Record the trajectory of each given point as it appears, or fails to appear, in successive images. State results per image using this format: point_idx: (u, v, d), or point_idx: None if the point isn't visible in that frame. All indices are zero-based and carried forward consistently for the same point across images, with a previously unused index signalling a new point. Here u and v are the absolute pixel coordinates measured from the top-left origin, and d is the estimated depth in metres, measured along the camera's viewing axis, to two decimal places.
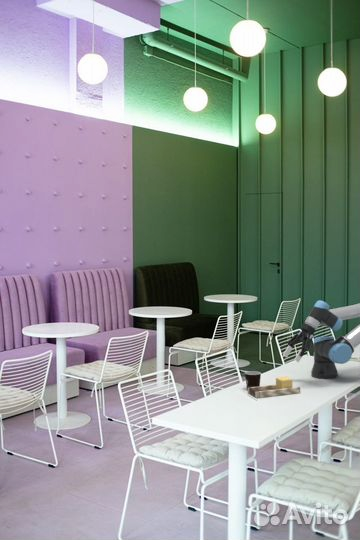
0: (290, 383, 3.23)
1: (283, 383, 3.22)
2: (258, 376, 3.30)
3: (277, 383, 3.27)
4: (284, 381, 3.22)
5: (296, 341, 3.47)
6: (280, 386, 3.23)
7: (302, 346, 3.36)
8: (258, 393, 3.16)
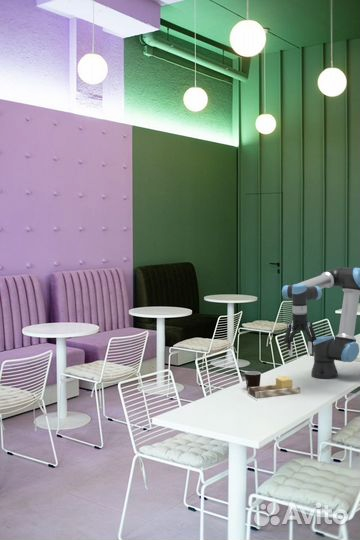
0: (290, 383, 3.23)
1: (283, 383, 3.22)
2: (258, 376, 3.30)
3: (277, 383, 3.27)
4: (284, 381, 3.22)
5: None
6: (280, 386, 3.23)
7: (310, 338, 3.28)
8: (258, 393, 3.16)
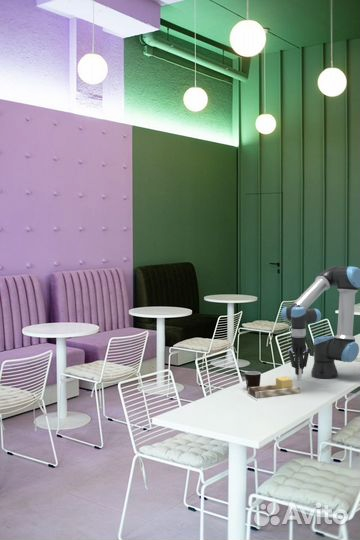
0: (290, 383, 3.23)
1: (283, 383, 3.22)
2: (258, 376, 3.30)
3: (277, 383, 3.27)
4: (284, 381, 3.22)
5: None
6: (280, 386, 3.23)
7: (302, 363, 3.27)
8: (258, 393, 3.16)
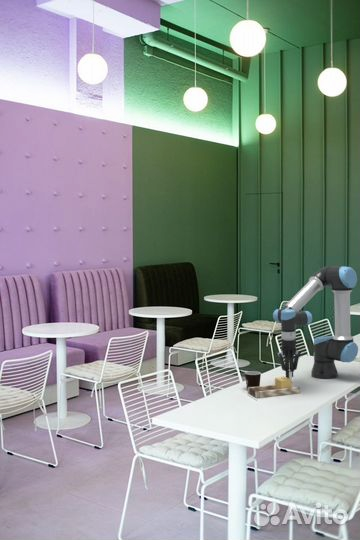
0: (289, 383, 3.23)
1: (282, 383, 3.22)
2: (258, 376, 3.30)
3: (276, 383, 3.26)
4: (283, 381, 3.22)
5: None
6: (279, 386, 3.23)
7: (292, 366, 3.25)
8: (258, 393, 3.16)
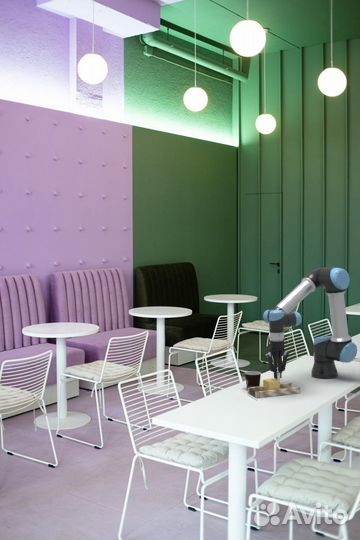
0: (277, 384, 3.21)
1: (270, 384, 3.20)
2: (258, 376, 3.30)
3: (264, 384, 3.24)
4: (271, 382, 3.20)
5: None
6: (267, 387, 3.21)
7: (280, 367, 3.23)
8: (258, 393, 3.16)
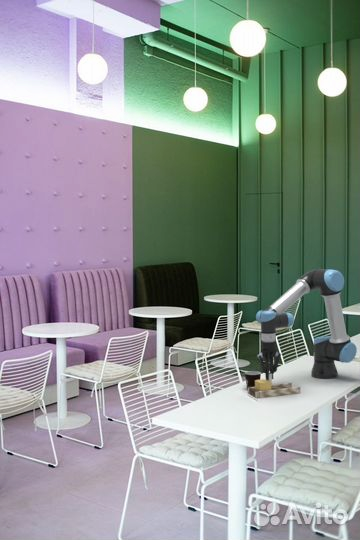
0: (269, 385, 3.19)
1: (262, 385, 3.18)
2: (258, 376, 3.30)
3: (256, 385, 3.23)
4: (263, 383, 3.18)
5: None
6: (259, 388, 3.20)
7: (272, 368, 3.22)
8: (258, 393, 3.16)
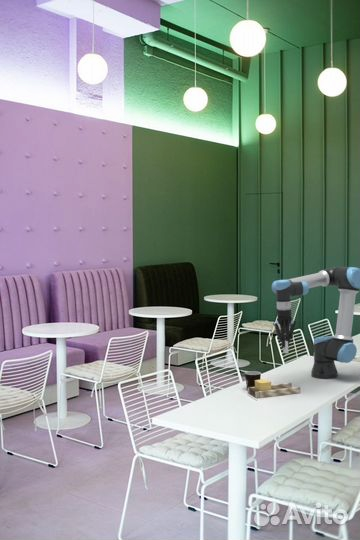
0: (269, 385, 3.19)
1: (262, 385, 3.18)
2: (258, 376, 3.30)
3: (256, 385, 3.23)
4: (263, 383, 3.18)
5: None
6: (259, 388, 3.20)
7: (288, 336, 3.29)
8: (258, 393, 3.16)
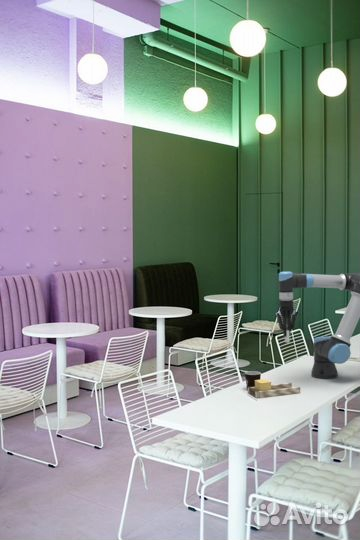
0: (269, 385, 3.19)
1: (262, 385, 3.18)
2: (258, 376, 3.30)
3: (256, 385, 3.23)
4: (263, 383, 3.18)
5: None
6: (259, 388, 3.20)
7: (289, 326, 3.41)
8: (258, 393, 3.16)
